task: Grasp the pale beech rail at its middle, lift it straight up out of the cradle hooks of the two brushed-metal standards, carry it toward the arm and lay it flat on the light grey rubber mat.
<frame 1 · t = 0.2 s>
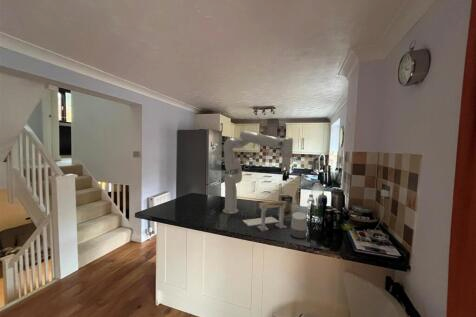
hand: (285, 179, 146), 31 cm above the countertop, tool pointing down, fingers open, 9 cm apart
smart speaker: (298, 236, 125), on the countertop
beech rail: (272, 206, 137), point 14 cm above the countertop, touching metal standards
grey mat: (260, 221, 148), on the countertop
metal standards: (272, 227, 138), on the countertop
coffee box: (284, 216, 161), on the countertop
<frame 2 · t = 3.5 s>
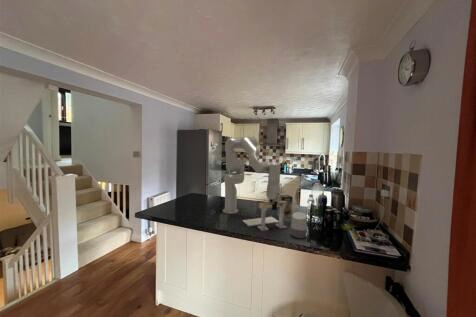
hand: (272, 208, 137), 13 cm above the countertop, tool pointing down, fingers closed on beech rail, 3 cm apart
beech rail: (272, 206, 137), point 14 cm above the countertop, touching gripper, metal standards
everything else where it was.
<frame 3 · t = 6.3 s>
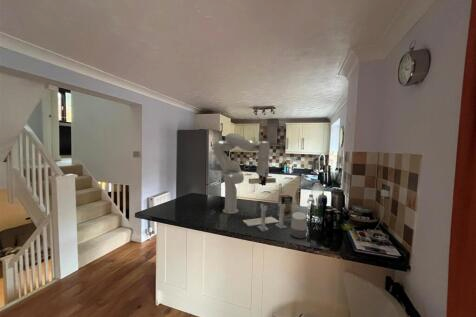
hand: (262, 184, 147), 27 cm above the countertop, tool pointing down, fingers closed on beech rail, 3 cm apart
beech rail: (262, 182, 146), point 28 cm above the countertop, touching gripper
everything else where it was.
when the fingers open (1 cm above the countertop, at t = 9.5 s): beech rail drops 2 cm, resting on grey mat.
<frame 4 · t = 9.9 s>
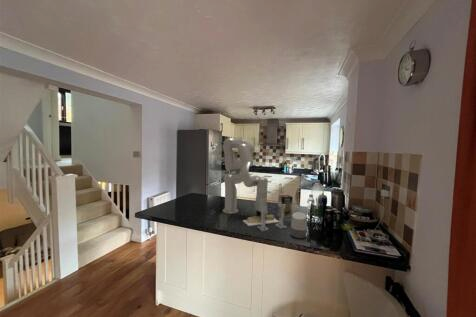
hand: (260, 219, 148), 2 cm above the countertop, tool pointing down, fingers open, 7 cm apart
beech rail: (260, 220, 148), point 1 cm above the countertop, touching grey mat
everything else where it was.
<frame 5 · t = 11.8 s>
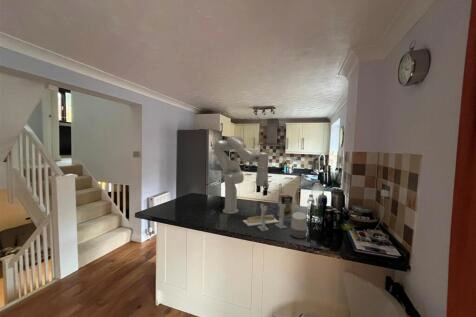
hand: (261, 193, 147), 20 cm above the countertop, tool pointing down, fingers open, 9 cm apart
nothing on the countertop moved.
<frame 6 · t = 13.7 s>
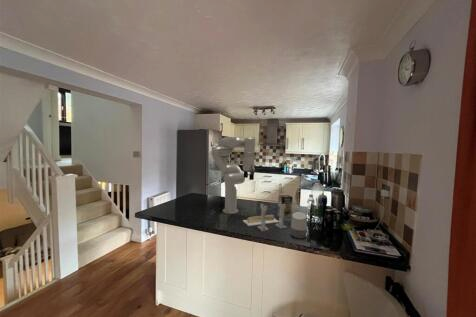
hand: (248, 178, 149), 30 cm above the countertop, tool pointing down, fingers open, 9 cm apart
nothing on the countertop moved.
at the end: beech rail inside the target area on the grey mat (0.0 cm from its centre), point 0.6 cm above the grey mat's base; beech rail touching grey mat; the gripper is holding nothing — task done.
